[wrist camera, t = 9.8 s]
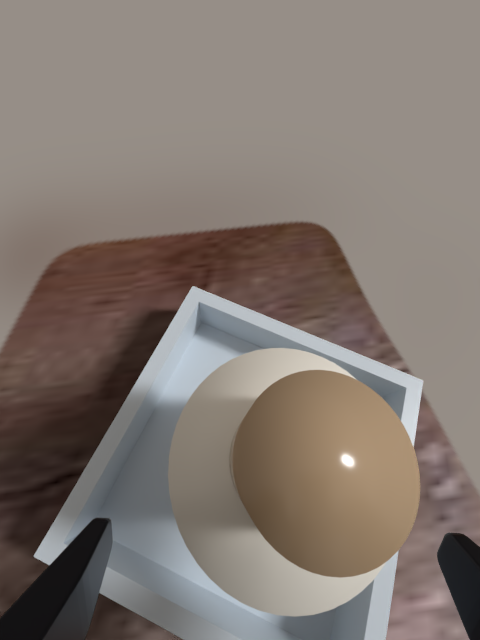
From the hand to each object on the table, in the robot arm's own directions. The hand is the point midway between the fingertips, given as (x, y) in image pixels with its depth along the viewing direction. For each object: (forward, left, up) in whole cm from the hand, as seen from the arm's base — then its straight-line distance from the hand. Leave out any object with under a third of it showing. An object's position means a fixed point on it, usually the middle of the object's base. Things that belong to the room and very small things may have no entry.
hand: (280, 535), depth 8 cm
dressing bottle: (+2, +1, -9) cm, 9 cm away
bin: (+2, +1, -9) cm, 10 cm away
